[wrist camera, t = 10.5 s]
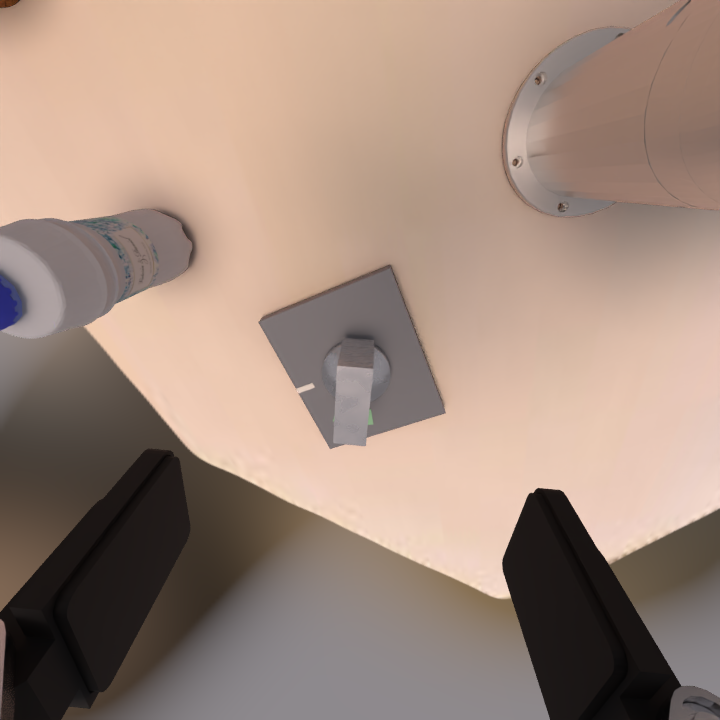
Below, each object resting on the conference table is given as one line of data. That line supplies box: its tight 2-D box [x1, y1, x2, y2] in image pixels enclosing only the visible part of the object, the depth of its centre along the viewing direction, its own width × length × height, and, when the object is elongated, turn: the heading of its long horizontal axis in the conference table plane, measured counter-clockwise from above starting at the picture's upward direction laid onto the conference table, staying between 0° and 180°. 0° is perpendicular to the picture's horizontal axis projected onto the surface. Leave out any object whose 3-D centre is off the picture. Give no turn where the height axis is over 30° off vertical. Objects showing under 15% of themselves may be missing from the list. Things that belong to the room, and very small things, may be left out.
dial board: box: [259, 265, 446, 449], centre depth 39 cm, size 14×17×2 cm
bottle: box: [0, 209, 192, 338], centre depth 26 cm, size 7×7×20 cm
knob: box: [322, 338, 391, 446], centre depth 36 cm, size 7×10×7 cm, turn 176°
